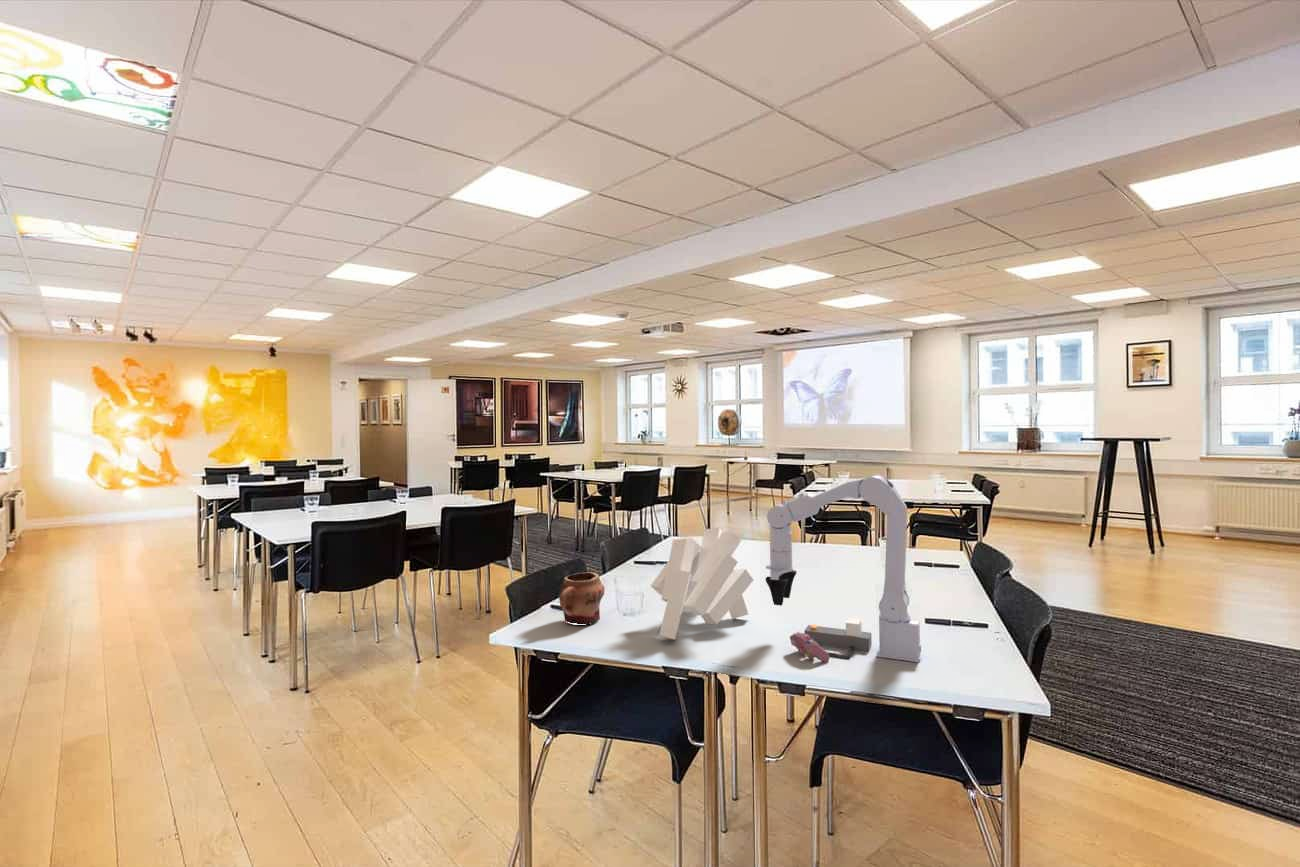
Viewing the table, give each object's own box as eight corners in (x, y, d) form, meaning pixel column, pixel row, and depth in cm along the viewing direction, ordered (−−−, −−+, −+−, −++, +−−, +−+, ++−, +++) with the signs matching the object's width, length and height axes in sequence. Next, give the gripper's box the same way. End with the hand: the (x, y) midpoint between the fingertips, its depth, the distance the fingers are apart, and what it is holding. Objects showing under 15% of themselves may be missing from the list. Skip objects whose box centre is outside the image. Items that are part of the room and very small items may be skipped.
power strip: (871, 645, 158) (871, 620, 158) (865, 661, 147) (864, 634, 147) (808, 636, 165) (808, 613, 165) (798, 652, 154) (797, 626, 154)
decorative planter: (584, 636, 169) (583, 585, 169) (545, 632, 173) (544, 582, 173) (613, 615, 187) (612, 570, 187) (577, 612, 191) (576, 567, 191)
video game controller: (794, 656, 155) (783, 633, 154) (808, 646, 157) (797, 623, 155) (818, 670, 146) (806, 646, 145) (832, 659, 147) (821, 635, 146)
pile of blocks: (738, 673, 155) (786, 544, 163) (630, 623, 160) (682, 500, 168) (728, 661, 188) (769, 555, 196) (639, 620, 193) (682, 518, 201)
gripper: (773, 544, 172) (774, 593, 172) (758, 554, 159) (759, 606, 159) (798, 546, 169) (799, 595, 169) (785, 556, 156) (786, 609, 156)
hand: (781, 601), depth 164 cm, fingers open, 7 cm apart
